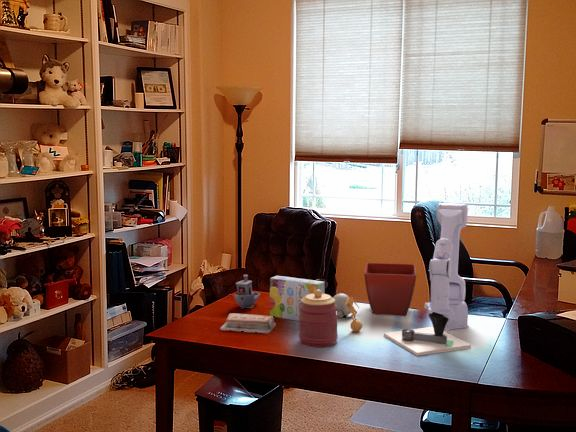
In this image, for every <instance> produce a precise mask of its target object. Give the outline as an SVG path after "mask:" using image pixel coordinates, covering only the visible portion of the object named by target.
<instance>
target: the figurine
mask: <svg viewBox="0 0 576 432" xmlns="http://www.w3.org/2000/svg"><path fill="white" fill-rule="evenodd" d="M346 305H348V306H349V311H350V312H351V313H350V318H351V319H352V320H351V322H350V329H351V330H352V331H353V332H356V333H357V332H360V331H361V329H362V327H363V324H362V322H361V321H360V320H358V318H356V315H357V314H358V311H357V310H356V309H355V307H354V306H353V305H355V306H357V308H358V309H360V306H359V305H358V304H357V302H356V301H355V299H354V297H353V296H351V297H349V298H347V299H346V303H345V309H346V313H348V311H347V308H346Z"/></svg>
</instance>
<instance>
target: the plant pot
mask: <svg viewBox="0 0 576 432" xmlns="http://www.w3.org/2000/svg"><path fill="white" fill-rule="evenodd" d="M363 275H364V281H365V289H366V294H367V299H368V304H369V307H370V310H371V313H372V315H379V316H399V317H400V316H401V317H403V316H404V317H406V316H407V315H408V312H409V309H410V307H411V303H412V301H413V295H414V292H415V291H414V290H415V286H416V281H417V269H416V264H413V263H390V262H389V263H386V262H383V263H382V262H381V263H380V262H367V263H366V265H365V269H364V274H363Z"/></svg>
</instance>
